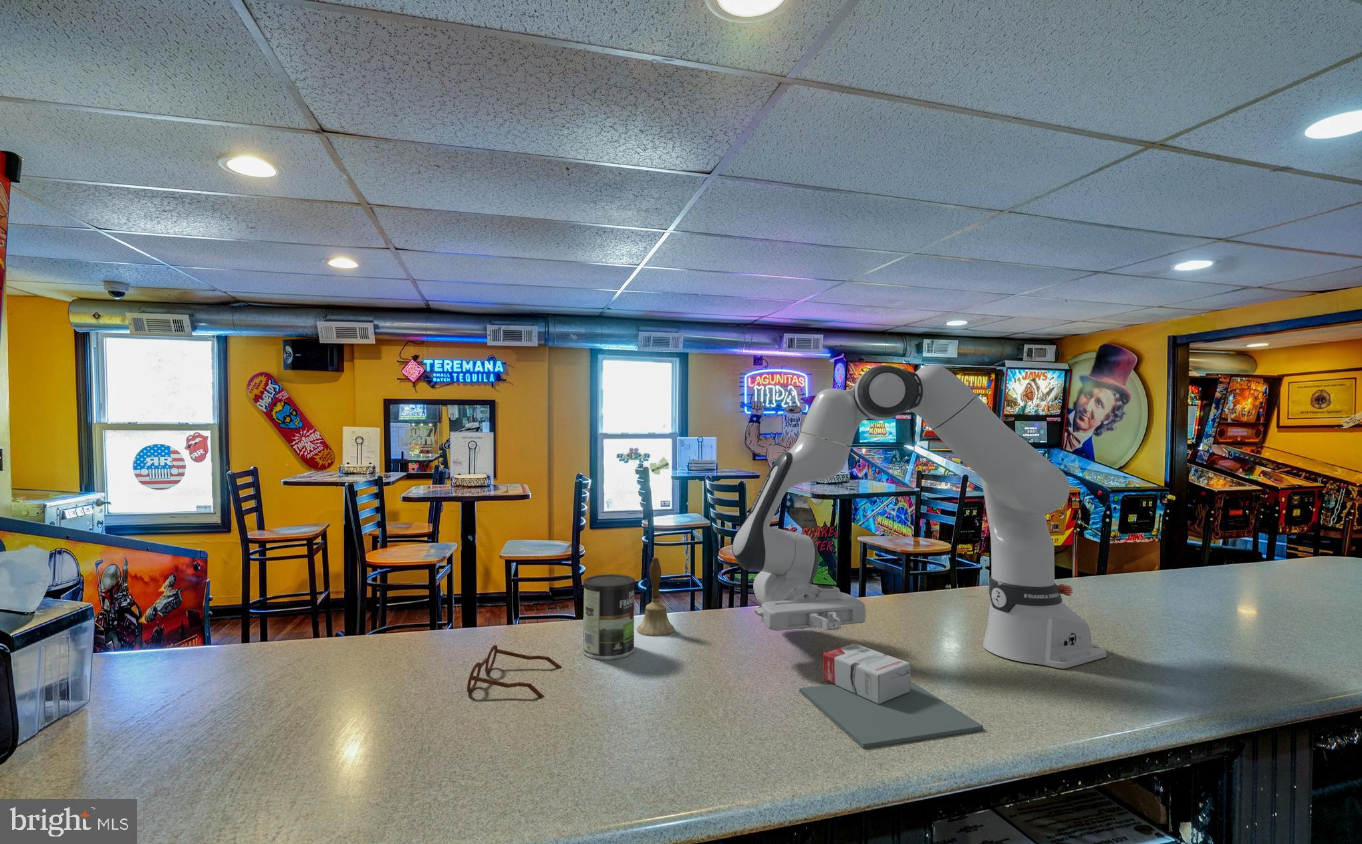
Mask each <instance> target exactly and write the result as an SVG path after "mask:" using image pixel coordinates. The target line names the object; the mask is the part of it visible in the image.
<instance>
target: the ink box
mask: <svg viewBox="0 0 1362 844" xmlns="http://www.w3.org/2000/svg"><path fill="white" fill-rule="evenodd" d="M822 656H823V657H822V660H823V661H822V662H823V664H822V665H823V666H822V669H823V681H825V682H828V683H829V684H834V685H836V686H839V687H841V688H843V689H846V690H848V691H850V692H852V693H855V694H857V695H859V696H861V697H864V698H866V699H868V700H870V701H873V702H875V703H877V704H880V703H883V702H885V701H888V700H890V699H893V698H895V697H897V696H900V695H902V694H905V693H907V692H910V681H911V663H910V662H909V661H905V660H902V659H900V658H898V657H894V656H891V655H888V654H885V653H882V652H880V651H878V650H875V649H872V648H868V647H866V646H862V645H860V644H858V643H857V644H856V643H851V644H848V645H846V646H843V647H839V648H836V649H833V650H829V651H826V652H823V654H822Z"/></svg>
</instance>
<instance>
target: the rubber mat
mask: <svg viewBox="0 0 1362 844" xmlns="http://www.w3.org/2000/svg"><path fill="white" fill-rule="evenodd" d="M800 692H801V693H800ZM799 693H800V694H801V695H802V696H803V697H804V698H806V697H807V698H806V699H807V700H808V699H809V700H810V701H811V704H813V706H815V708H817V707H818V708H819V709H820V710H819V709H818V708H817V709H818V710H819V711H820V712H822V713H823V714H824V716H825V717H827V718H828V717H829V718H828V719H829V720H830V721H831V722H833V723H834V725H836V726H837V727H838V728H840V729H841V730H842V731H843V732H844V733H845V734H846V735H847V736H849V738H851V739H852V741H853V742H855V743H856V744H857V745H859V747H861V748H862V749H870V748H876V747H881V746H889V745H895V744H903V743H909V742H915V741H920V740H927V739H934V738H939V737H941V738H942V737H945V736H946V737H948V736H953V735H959V734H960V735H961V734H967V733H972V732H981V731H984V725H983V724H981V723H980V722H978V721H976V720H974V719H973V718H971V717H969V716H968V715H966V714H964V712H962V711H960V710H958V709H957V708H956V707H954V706H952V705H950V704H949V703H948V702H946V701H944V700H942V699H941V698H939V697H937V696H936V695H934V694H932V693H931V692H929V691H927V690H926V689H924V688H923V687H921V686H920V685H918V684H916V683H915V682H913V681H911V680H910V692H907V693H905V694H902V695H900V696H897V697H895V698H893V699H890V700H888V701H885V702H883V703H880V704H877V703H875V702H873V701H870V700H868V699H866V698H864V697H861V696H859V695H857V694H855V693H852V692H850V691H848V690H846V689H843V688H841V687H839V686H836V685H834V684H832V683H829V684H823V685H816V686H815V685H814V686H813V685H812V686H807V687H799ZM809 700H808V701H809ZM810 701H809V702H810Z"/></svg>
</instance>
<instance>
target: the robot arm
mask: <svg viewBox="0 0 1362 844" xmlns="http://www.w3.org/2000/svg"><path fill="white" fill-rule="evenodd" d="M907 411H908V412H912V413H913V414H916V416H918V417H919V418H921V419H922V420H923V421H924V422H925V424H926V425H927V426H928V427H929V428H930V429H931V431H932V432H933V433H934V434H935V435H936V436H937V437H938V438H939V439H940V440H941V441H942V442H943V443H944V445H945V446H946V447H947V448H948V449H950V451H951V452H952V453H953V454H954V455H955V456H956V457H957V459H959V460H960V461H962V462H963V463H964V464H965V465H967V467H969V468H970V469H971V470H972V471H973V472H974V473H975V474H976V475H978V476H979V478H980V483H981V487H982V490H983V494H984V495H983V496H984V503H985V511H986V518H987V524H988V528H989V533H990V534H989V536H990V551H991V553H990V559H991V561H990V562H991V564H990V565H991V568H990V569H991V571H990V572H991V575H990V576H989V578H988V594H989V598H990V602H989V607H988V609H989V610H988V618H987V625H986V630H985V632H984V640H983V642H982V646H983V648H984V649H985V650H986V651H988V652H990V653H992V654H994V655H996V656H998V657H1001V658H1005V659H1009V660H1012V661H1016V662H1021V663H1027V664H1034V665H1035V664H1036V665H1041V666H1042V665H1043V666H1048V667H1053V668H1056V669H1068V668H1073V667H1074V666H1080V665H1082V664H1087V663H1089V662H1093V661H1096V660H1100V659H1104V658H1106V657H1108V656H1107V651H1106V650H1105V649H1103V648H1102V647H1101V646H1099V645H1096V644H1095V643H1092V642H1093V641H1092V633H1091V628H1090V625H1089V624H1088V622H1087V621H1086V620H1085V619H1084V618H1082V617H1081V616H1080V615H1078V613H1076V612H1075V611H1073V610H1072V609H1071V608H1070V607H1068V605H1066V604H1065V603H1064V601H1063V598H1062V595H1064V596H1066V597H1070V596H1072V594H1073V593H1074V590H1073V587H1072V586H1071V585H1067V584H1066V585H1065V584H1063V583H1060V584H1058V585H1057V584H1056V582H1055V543H1054V540H1053V538H1052V536H1051V533H1050V530H1049V527H1048V523H1047V522H1048V521H1047V517H1046V514H1050V513H1053V512H1056V511H1057V510H1059V509H1061V508H1062V507H1063V506H1064V505H1065V504H1066V502H1067V501H1068V499H1069V496H1070V490H1071V489H1070V482H1069V479H1068V477H1067V476H1066V474H1065V473H1064V471H1062V470H1061V469H1060V468H1059V467H1058V466H1056V465H1055V464H1053V463H1052V462H1051V461H1049V460H1048V459H1047V458H1046V457H1045V456H1044V455H1043V454H1042V453H1041V452H1039V451H1038V450H1037V449H1036V448H1035V447H1033V446H1032V445H1031V444H1030V443H1029V442H1027V441H1026V440H1025V439H1024V438H1022V437H1021V436H1020V435H1018V433H1016V432H1015V431H1014V430H1012V428H1010V427H1009V426H1008V425H1006V423H1004V421H1002V420H1001V419H1000V417H998V416H997V414H996V413H994V411H992V409H991V408H990V407H989V406H988V405H987V404H986V403H985V401H983V400H982V399H981V398H980V397H979V396H978V395H977V394H976V392H974V391H973V389H971V388H970V387H969V386H968V385H967V384H966V383H965V382H964V381H962V379H960V378H959V377H958V376H956V375H955V374H954V373H952V371H950V370H948V369H947V368H945V366H941V365H939V364H930V365H925V366H924V367H921V368H919V369H918V370H916V371H915V372H914V371H910V370H907V369H903V368H901V367H898V366H894V365H890V364H880V365H877V366H874V367H871V368H869V369H868V370H866V371H865V372H864V373H863V374H861V375H860V377H858V379H857V381H856V382H855V383H854V384H853V385H852V387H850V388H849V389H841V388H831V387H830V388H826V389H822V390H820V391H819V392H818V393H817V394H816V395H815V397H814V399H813V401H812V402H811V405H810V407H809V409H808V411H807V413H806V416H805V418H804V421H803V424H802V426H801V429H800V432H799V436H798V438H797V440H796V442H795V443H794V445H793V446H792V447H791V448H790V449H789V450H788V451H787V452H784V453H781V454H780V455H779V456H778V457H776V459H775V461H774V463H773V465H772V466H771V468H770V469H769V472H768V474H767V476H766V477H765V479H764V481H763V483H762V485H761V487H760V488H759V492H758V493H757V495H756V498H755V500H754V502H753V503H752V506H751V508H750V509H749V512H748V514H747V515H746V517H745V519H744V521H743V522H742V523H741V525H740V526H739V528H738V530H737V531H736V533H735V536H734V538H733V542H732V548H731V549H732V554H733V557H734V559H735V560H736V562H737V564H738V565H739V566H740V567H741V568H742V569H743V570H745V571H750V572H751V571H752V572H758V574H757V575H756V576H755V577H754V579H753V584H752V586H753V592H754V595H755V598H756V600H757V602H758V603H759V604H760V605H759V606H758V607H755V608H754V610H753V611H754V614H756V615H757V616H758V617H761V621H762V623H763V624H764V626H765V627H766V628H768V630H770V631H773V632H775V631H776V632H779V631H789V630H804V629H810V628H811V629H812V628H813V629H814V628H818V629H822V630H824V631H831V630H832V631H834V630H835V631H836V630H841V629H842V626H845V625H855V624H863V623H865V622H866V619H867V608H866V604H865V602H864V601H862V600H860V599H859V598H857V597H855V596H853V595H852V594H848V593H845V592H842V591H841V590H840V588H839V587H836V586H834V585H832V586H831V585H821V584H813V582H814V580H815V578H816V577H817V576H816V575H817V573H818V570H819V563H820V554H819V550H818V547H817V545H816V543H815V542H814V539H812V537H811V536H810V535H806V534H804V533H799V532H794V531H791V530H784V529H781V528H778V527H773V526H770V525H771V523H772V521H773V518H774V516H775V514H776V513H777V511H778V508H779V506H780V504H781V502H782V501H783V500H782V499H783V498H784V496H785V494H786V493H787V492H788V491H789V490H790V489H792V488H793V487H795V486H798V485H800V484H805V483H811V482H820V481H824V480H827V479H828V480H829V479H830V478H833V477H834V476H836V475H837V474H838V473H840V472H841V471H842V470H843V469H844V467H845V465H846V464H847V461H848V459H849V456H850V452H851V449H852V445H853V442H854V438H855V434H856V433H857V430H858V428H859V426H860V425H861V424H862V423H863V422H864V421H872V422H873V421H874V422H875V421H886V420H887V421H888V420H891V419H893V418H896V417H897V416H899V415H901V414H903V413H906V412H907Z"/></svg>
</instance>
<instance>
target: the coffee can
mask: <svg viewBox="0 0 1362 844" xmlns="http://www.w3.org/2000/svg"><path fill="white" fill-rule="evenodd" d="M635 583H636V580H635V577H632V576H629V575H624V574H615V573H614V574H599V575H598V574H597V575H593V576H592V575H591V576H588V577H586V578H584V579H583V581H582V584H583V585H582V586H583V633H582V634H583V643H582V644H583V645H582V646H583V648H582V649H583V650H582V653H583V655H584V656H586V657H587V658H590V659H595V660H603V661H604V660H605V661H607V660H608V661H612V660H617V659H619V660H620V659H622V658H623V659H624V658H626V657H629V656H631V655H633V653H634V652H635Z"/></svg>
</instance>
